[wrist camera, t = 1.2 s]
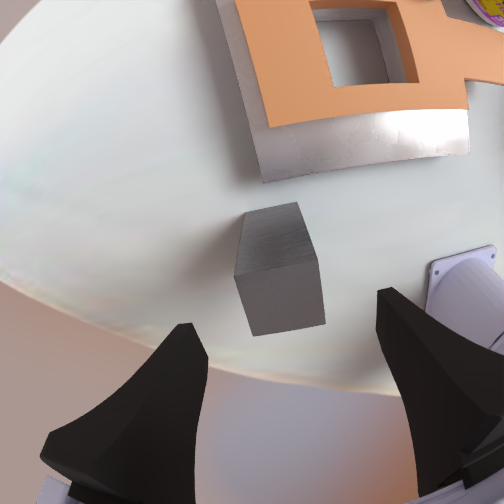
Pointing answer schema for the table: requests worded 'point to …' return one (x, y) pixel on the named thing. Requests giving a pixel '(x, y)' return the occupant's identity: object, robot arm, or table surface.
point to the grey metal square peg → (278, 272)
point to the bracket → (370, 95)
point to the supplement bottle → (489, 10)
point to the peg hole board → (342, 127)
